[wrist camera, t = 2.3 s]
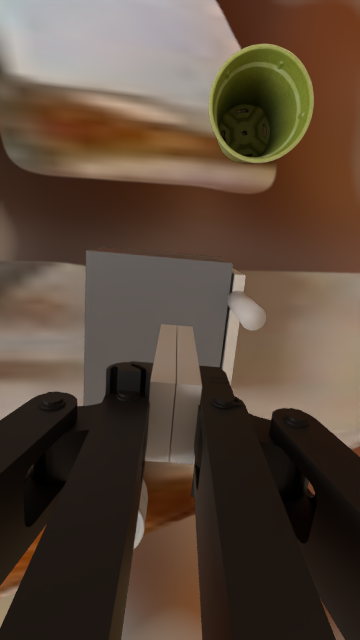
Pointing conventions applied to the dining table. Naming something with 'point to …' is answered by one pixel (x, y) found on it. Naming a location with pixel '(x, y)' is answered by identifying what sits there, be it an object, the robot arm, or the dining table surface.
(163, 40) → the dining table surface
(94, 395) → the box housing
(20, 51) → the dining table surface
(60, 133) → the dining table surface
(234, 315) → the door
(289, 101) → the plant pot
